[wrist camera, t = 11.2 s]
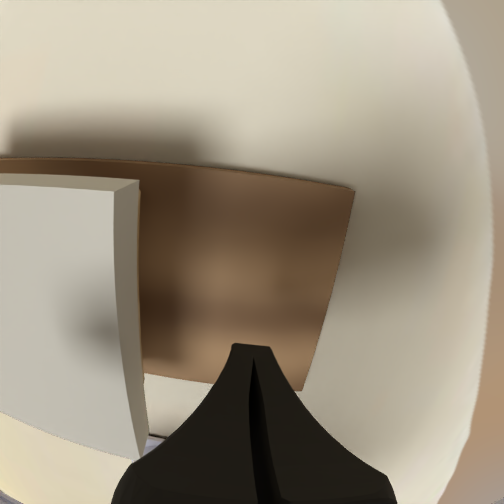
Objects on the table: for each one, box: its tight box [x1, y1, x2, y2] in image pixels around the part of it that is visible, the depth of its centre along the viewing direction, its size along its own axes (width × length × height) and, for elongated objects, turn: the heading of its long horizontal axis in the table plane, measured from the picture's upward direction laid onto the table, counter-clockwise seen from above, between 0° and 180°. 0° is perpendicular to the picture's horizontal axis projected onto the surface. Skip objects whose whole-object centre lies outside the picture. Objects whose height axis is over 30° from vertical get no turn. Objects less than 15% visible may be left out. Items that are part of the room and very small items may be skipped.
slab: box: [0, 173, 149, 461], centre depth 10 cm, size 12×12×2 cm
